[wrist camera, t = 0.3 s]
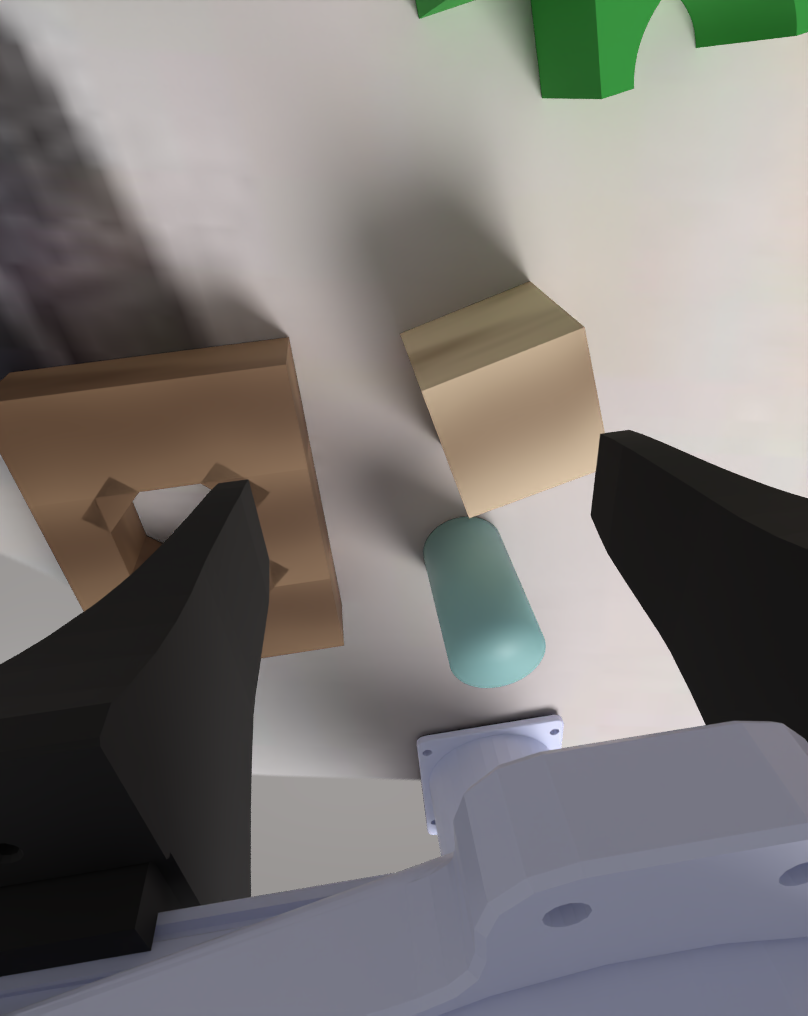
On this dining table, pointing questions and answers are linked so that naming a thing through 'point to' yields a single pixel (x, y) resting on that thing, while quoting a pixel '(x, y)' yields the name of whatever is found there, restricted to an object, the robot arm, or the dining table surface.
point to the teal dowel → (481, 605)
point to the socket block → (174, 468)
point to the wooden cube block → (509, 396)
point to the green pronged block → (631, 36)
